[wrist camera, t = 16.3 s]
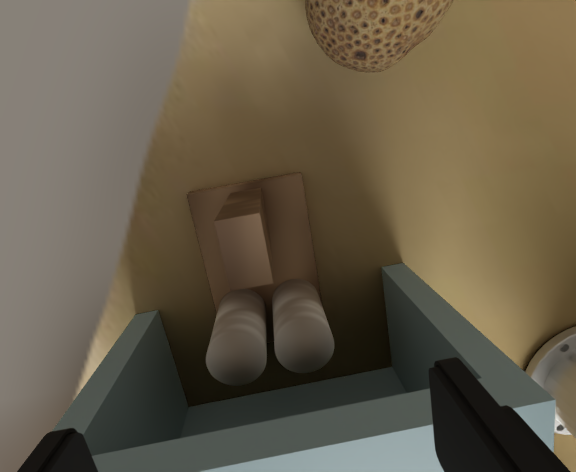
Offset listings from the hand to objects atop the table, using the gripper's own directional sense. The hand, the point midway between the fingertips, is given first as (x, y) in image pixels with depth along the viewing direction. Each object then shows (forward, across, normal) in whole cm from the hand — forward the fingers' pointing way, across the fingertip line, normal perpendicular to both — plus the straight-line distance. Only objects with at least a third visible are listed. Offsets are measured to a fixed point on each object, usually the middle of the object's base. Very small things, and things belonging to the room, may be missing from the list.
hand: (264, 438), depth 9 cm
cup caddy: (+21, +1, +2) cm, 22 cm away
